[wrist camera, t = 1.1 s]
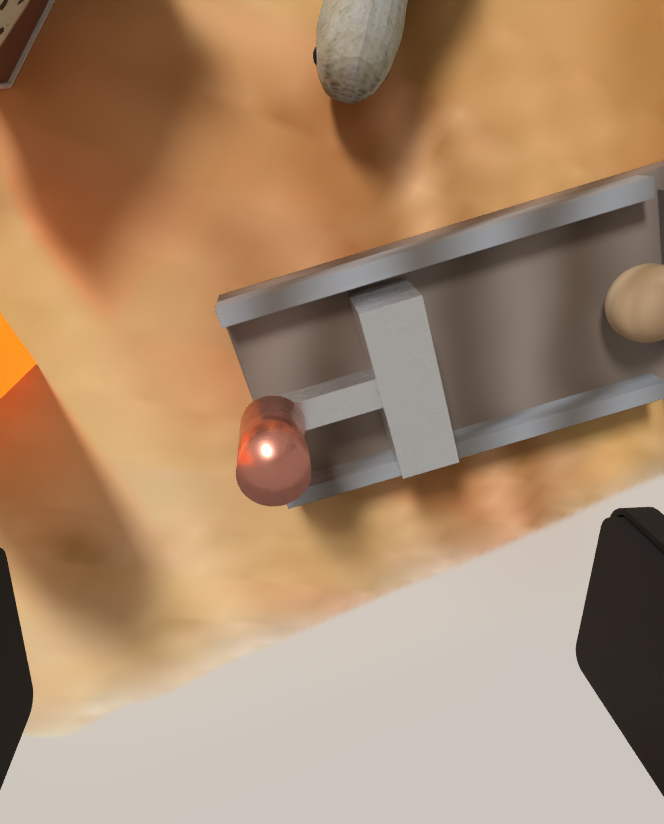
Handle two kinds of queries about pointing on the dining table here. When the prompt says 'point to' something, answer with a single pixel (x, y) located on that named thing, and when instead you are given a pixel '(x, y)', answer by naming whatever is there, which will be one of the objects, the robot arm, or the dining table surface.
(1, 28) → the food container
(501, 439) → the nut press
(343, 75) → the decorative bird
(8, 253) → the dining table surface
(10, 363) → the orange juice
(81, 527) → the dining table surface
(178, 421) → the dining table surface
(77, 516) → the dining table surface
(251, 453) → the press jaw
